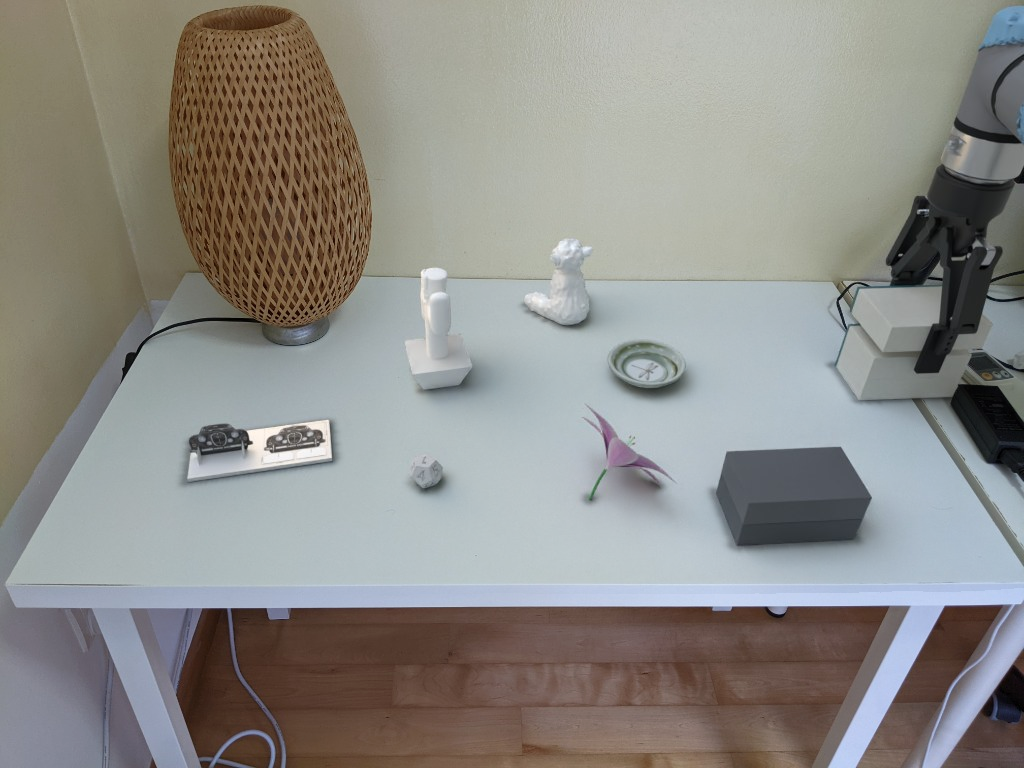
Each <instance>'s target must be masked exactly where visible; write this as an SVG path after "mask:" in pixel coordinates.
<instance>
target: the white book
mask: <svg viewBox="0 0 1024 768" xmlns="http://www.w3.org/2000/svg"><path fill="white" fill-rule="evenodd" d="M941 294H942V283H939V284H916V285H901V286H890V285H874V286H873V285H870V286H857V288H856V290H855V294H854V297H853V300H852V302H851V306H850V308H849V312H850V314H852V316H853V318H855V320H856V321H857V322H858V324H861V326H862V327H863V328H864V330H865V331H866V332H867V333H868V335H869V336H870V337H871V338H872V340H873V341H874V342H875V343H876V345H877V346H878V347H879V348H880V350H881V351H882V352H905V351H922V349H923V346H924V344H925V341H926V339H927V337H928V334H929V332H930V329H931V327H932V324H935V323H939V317H940V305H941ZM950 319H952V317H951V318H950ZM993 325H994V323H993V322H992V321H991V320H990V319H989V318H988V317H987V316H986V315H985V314H983V313H982V316H981V320H980V323H979V327H978V331H977V332H976V333H975V334H959V335H958V337H957V339H956V341H955V344H954V346H953V347H952V350H962V349H967V350H982V349H983V347H984V346H985V343H986V341H987V338H988V336H989V334H990V331H991V330H992V328H993Z"/></svg>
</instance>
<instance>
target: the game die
mask: <svg viewBox="0 0 1024 768" xmlns="http://www.w3.org/2000/svg"><path fill="white" fill-rule="evenodd" d="M443 470H444V466H443V465H442V464H441V463H439V461H438V460H437V459H436V458H434V457H433V455H430V454H429V453H424V454H420V455H418V456H415V457H414V458H413V459H412V460H411V462H410V464H409V468H408V473H407V475H408V476H409V478H411V479H412V480H413V482H415V483H416V484H417V485H418V486H419V487H420V488H422V489H428V488H429V487H433V486H436V485H437V484H438V483H439V482H440V481H441V480H442V474H443Z"/></svg>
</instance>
